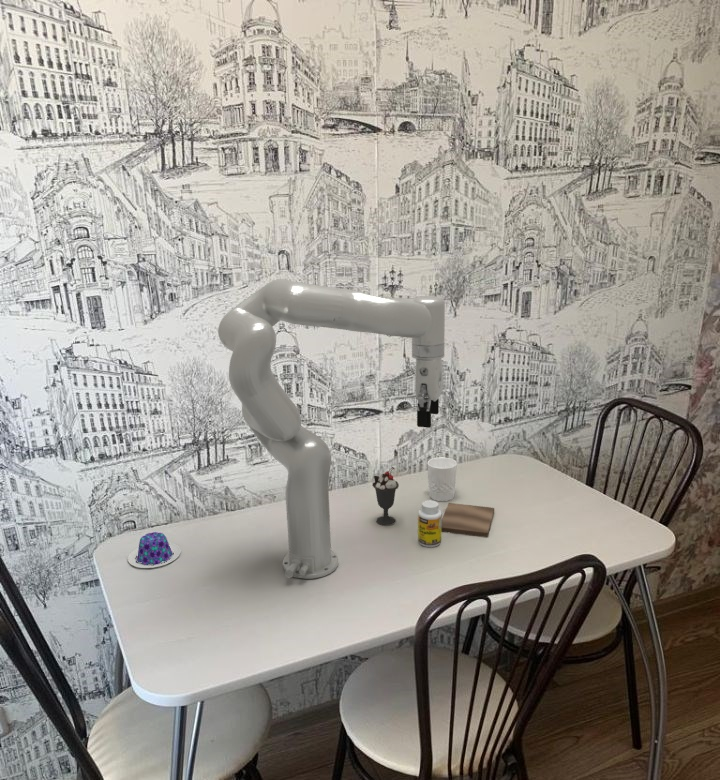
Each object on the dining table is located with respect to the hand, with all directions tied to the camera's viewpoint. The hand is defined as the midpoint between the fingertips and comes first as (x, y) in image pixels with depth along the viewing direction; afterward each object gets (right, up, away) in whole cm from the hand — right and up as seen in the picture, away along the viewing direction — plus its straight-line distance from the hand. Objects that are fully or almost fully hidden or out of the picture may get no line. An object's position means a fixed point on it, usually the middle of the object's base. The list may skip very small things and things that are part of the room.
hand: (428, 420), depth 163 cm
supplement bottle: (0, -30, +1) cm, 30 cm away
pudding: (-65, -32, -2) cm, 72 cm away
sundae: (-10, -27, +12) cm, 31 cm away
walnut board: (+11, -26, +11) cm, 31 cm away
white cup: (+6, -22, +25) cm, 34 cm away
